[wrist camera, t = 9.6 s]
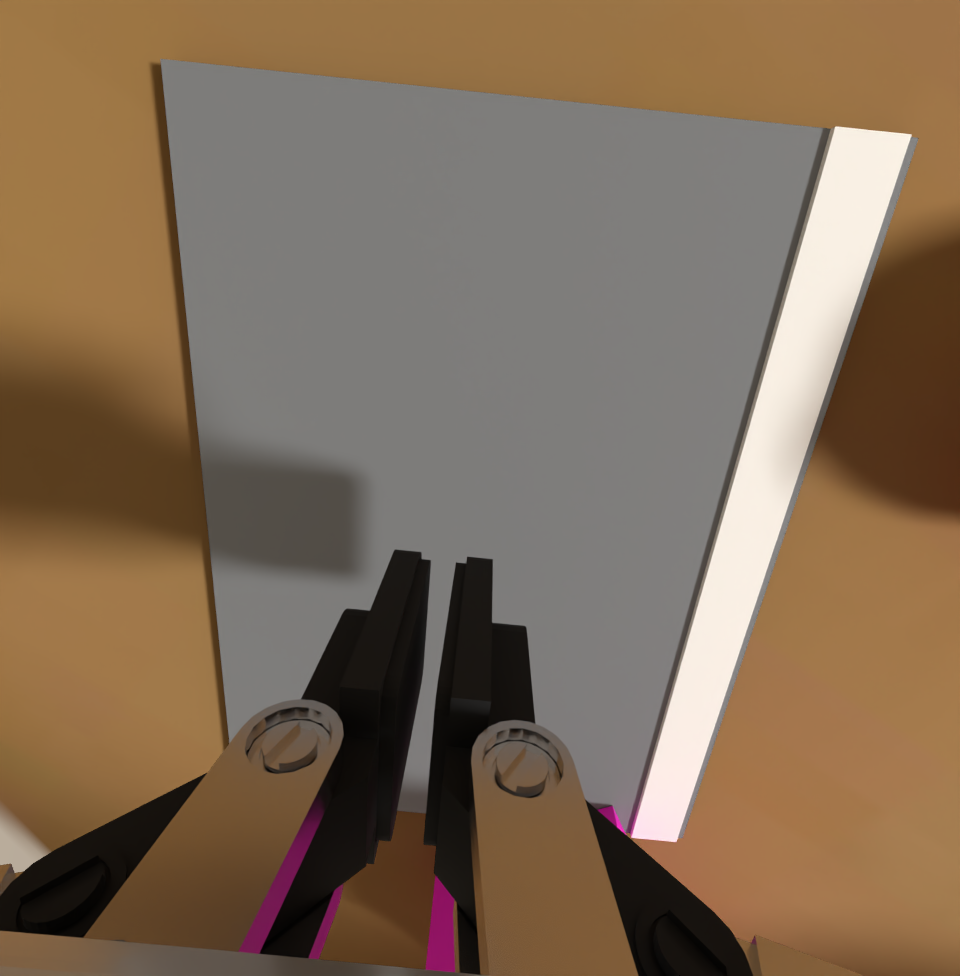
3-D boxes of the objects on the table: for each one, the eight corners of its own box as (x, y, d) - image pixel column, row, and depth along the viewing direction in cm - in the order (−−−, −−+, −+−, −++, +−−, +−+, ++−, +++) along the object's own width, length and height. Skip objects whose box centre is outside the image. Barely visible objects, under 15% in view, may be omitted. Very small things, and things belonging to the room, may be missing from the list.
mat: (903, 143, 11) (924, 135, 10) (678, 826, 18) (683, 842, 17) (172, 67, 10) (155, 55, 10) (240, 784, 18) (232, 799, 17)
